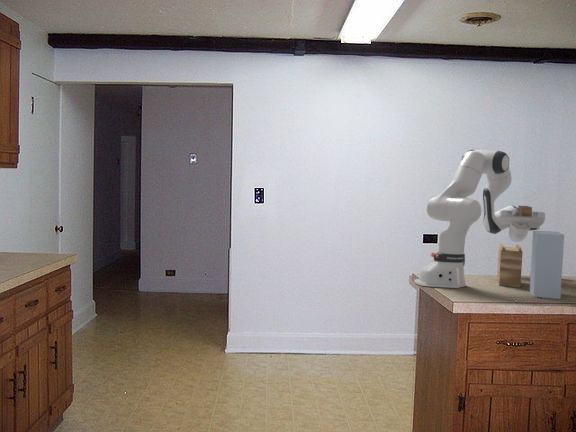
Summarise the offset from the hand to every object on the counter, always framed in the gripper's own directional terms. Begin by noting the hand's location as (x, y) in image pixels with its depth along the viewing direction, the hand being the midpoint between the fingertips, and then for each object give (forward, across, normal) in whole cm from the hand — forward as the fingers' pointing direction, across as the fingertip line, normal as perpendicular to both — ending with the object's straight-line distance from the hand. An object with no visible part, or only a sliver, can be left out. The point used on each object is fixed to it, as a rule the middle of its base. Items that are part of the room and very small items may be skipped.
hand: (523, 209), depth 280 cm
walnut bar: (+4, 0, +5) cm, 7 cm away
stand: (+8, +8, +44) cm, 46 cm away
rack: (-11, -5, +33) cm, 35 cm away
